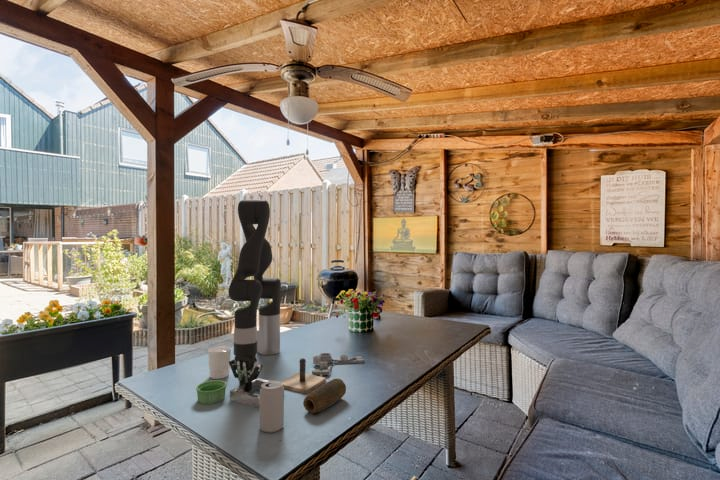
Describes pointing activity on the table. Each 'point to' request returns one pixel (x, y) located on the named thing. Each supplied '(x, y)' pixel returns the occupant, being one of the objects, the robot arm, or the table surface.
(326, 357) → the pulley system
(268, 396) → the beverage can
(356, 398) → the table surface
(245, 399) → the link
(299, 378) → the wooden board with peg
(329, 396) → the brown cylinder
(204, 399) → the ramekin
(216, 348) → the white cup
